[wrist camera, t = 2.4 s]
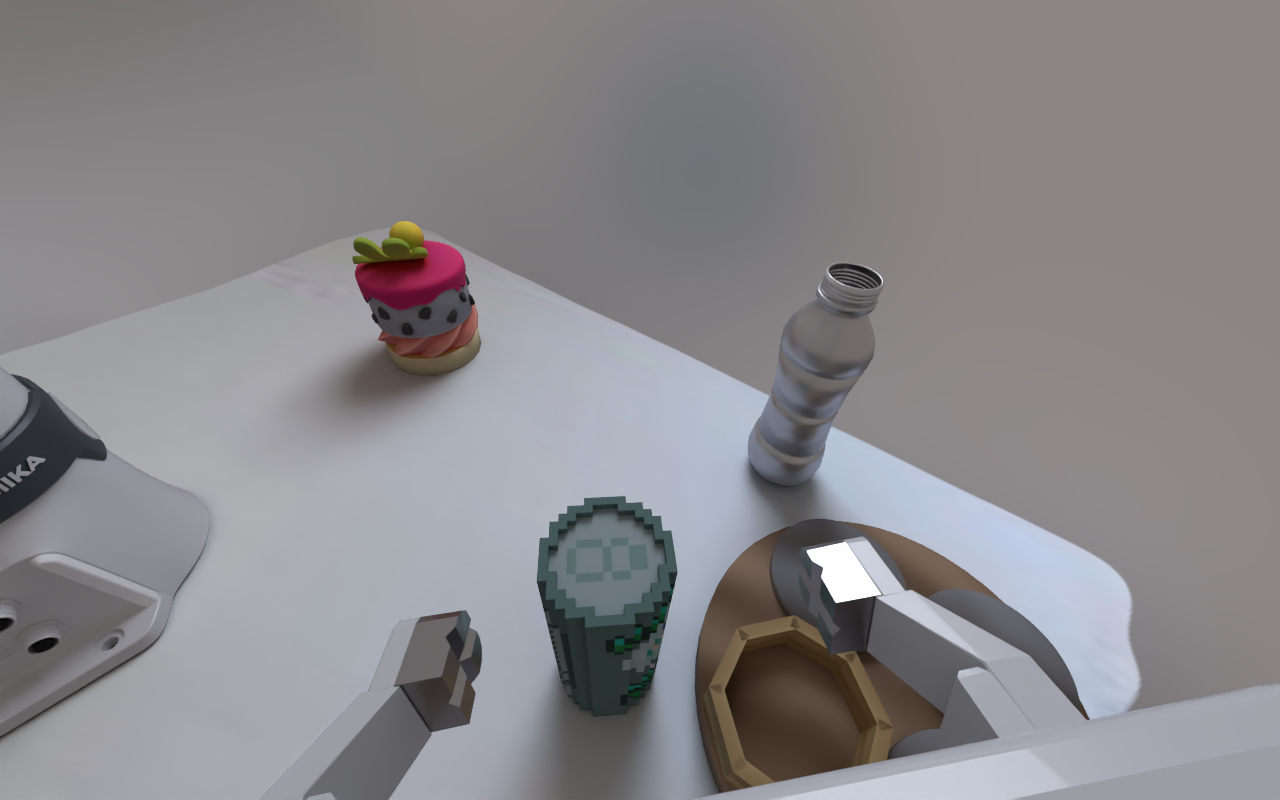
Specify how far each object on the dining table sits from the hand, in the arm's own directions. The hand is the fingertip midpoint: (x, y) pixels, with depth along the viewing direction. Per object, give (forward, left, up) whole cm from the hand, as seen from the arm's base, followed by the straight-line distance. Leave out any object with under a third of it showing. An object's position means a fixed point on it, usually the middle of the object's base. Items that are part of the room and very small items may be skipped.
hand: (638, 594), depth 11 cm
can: (+4, +4, -24) cm, 24 cm away
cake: (+20, +40, -24) cm, 50 cm away
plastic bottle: (+27, 0, -24) cm, 35 cm away
